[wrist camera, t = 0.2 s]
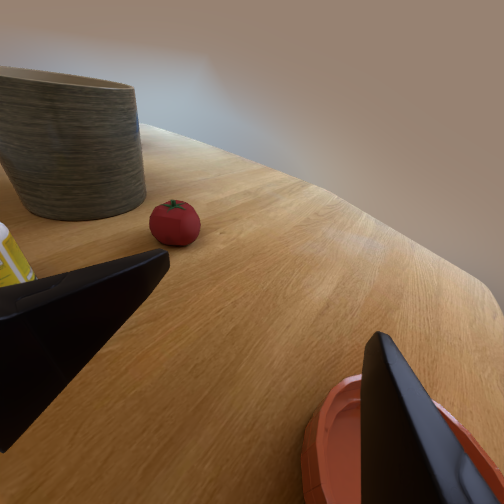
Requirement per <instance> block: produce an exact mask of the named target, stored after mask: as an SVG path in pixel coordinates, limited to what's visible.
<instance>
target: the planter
mask: <svg viewBox="0 0 504 504" xmlns="http://www.w3.org/2000/svg"><path fill="white" fill-rule="evenodd" d="M0 163H1V165H2V167H3V169H4V171H5V172H6V174H7V176H8V178H9V180H10V181H11V183H12V185H13V187H14V189H15V191H16V192H17V194H18V196H19V198H20V200H21V202H22V204H23V205H24V207H25V208H26V209H27V210H28V211H30V212H31V213H33V214H35V215H38V216H41V217H45V218H49V219H56V220H68V221H80V220H93V219H101V218H107V217H111V216H115V215H119V214H122V213H125V212H128V211H130V210H132V209H134V208H136V207H137V206H139V205H140V204H141V203H142V202H143V201H144V200H145V198H146V185H145V176H144V166H143V156H142V147H141V138H140V130H139V122H138V114H137V106H136V98H135V91H134V87H132V86H129V85H125V84H122V83H117V82H111V81H107V80H101V79H95V78H89V77H83V76H76V75H70V74H63V73H55V72H48V71H40V70H32V69H24V68H14V67H5V66H0Z"/></svg>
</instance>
